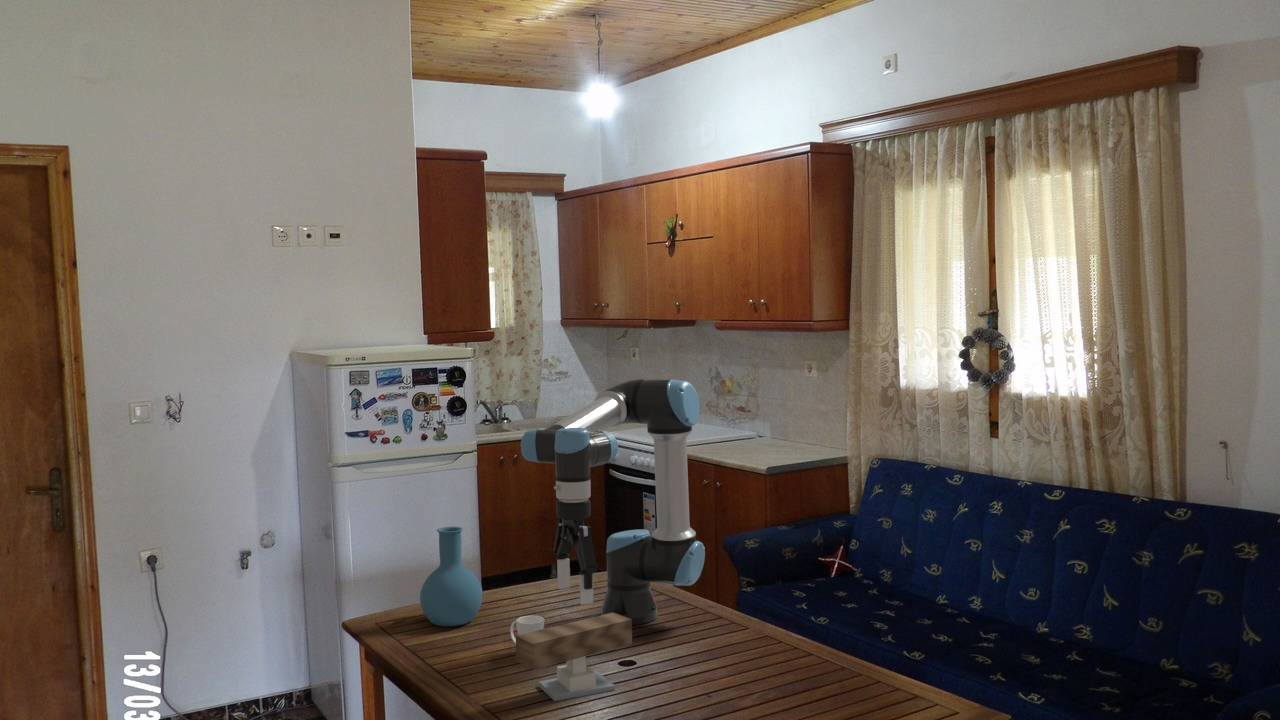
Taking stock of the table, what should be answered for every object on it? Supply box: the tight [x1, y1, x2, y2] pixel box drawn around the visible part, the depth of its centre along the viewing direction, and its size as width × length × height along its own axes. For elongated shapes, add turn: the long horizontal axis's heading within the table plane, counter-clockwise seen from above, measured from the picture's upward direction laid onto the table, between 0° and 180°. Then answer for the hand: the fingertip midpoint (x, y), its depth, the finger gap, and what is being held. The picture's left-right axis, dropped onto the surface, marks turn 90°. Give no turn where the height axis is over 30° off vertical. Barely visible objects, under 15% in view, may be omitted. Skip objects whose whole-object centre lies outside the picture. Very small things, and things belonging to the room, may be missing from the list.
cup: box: [509, 614, 545, 645], centre depth 247 cm, size 7×10×8 cm
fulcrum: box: [538, 656, 616, 702], centre depth 222 cm, size 14×10×8 cm
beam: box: [515, 613, 633, 671], centre depth 222 cm, size 26×7×6 cm, turn 128°
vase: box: [419, 526, 483, 628], centre depth 272 cm, size 16×16×25 cm
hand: (575, 595), depth 222 cm, fingers open, 13 cm apart
